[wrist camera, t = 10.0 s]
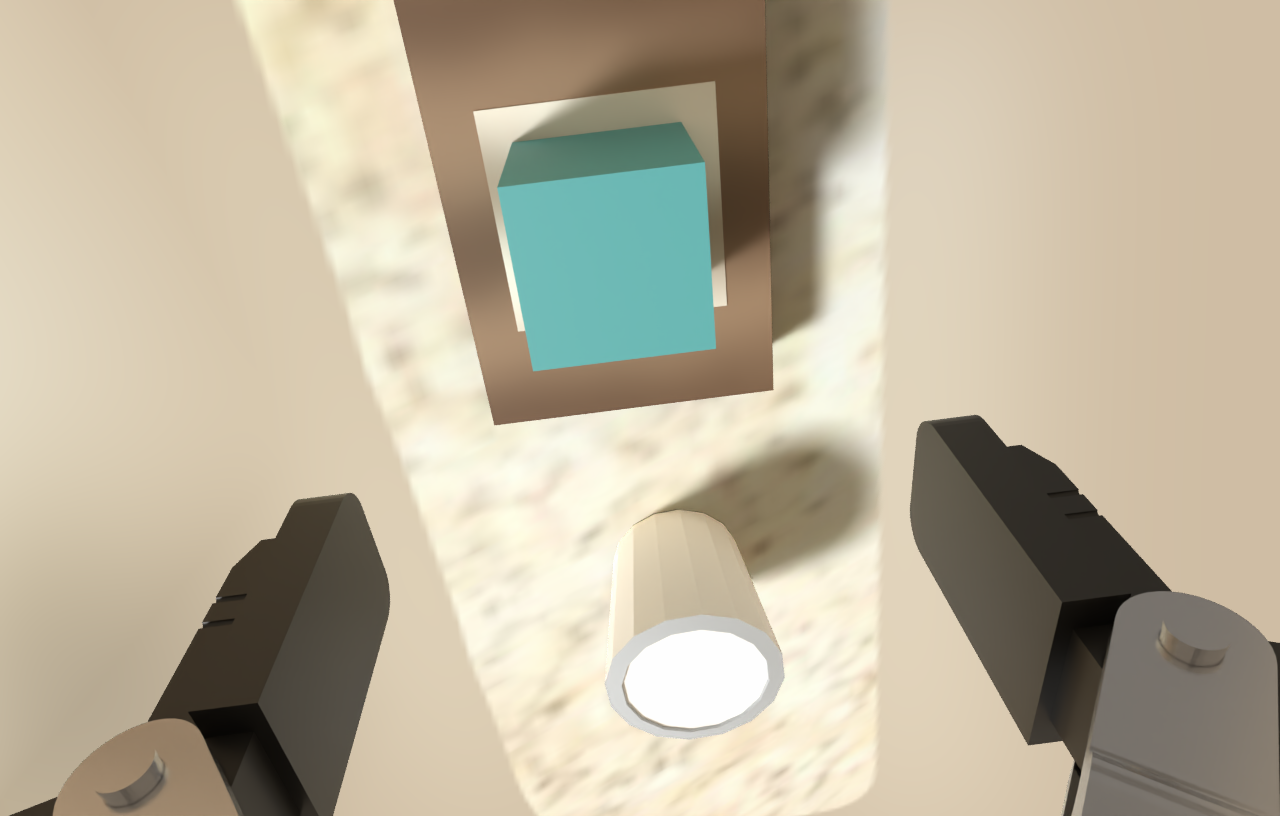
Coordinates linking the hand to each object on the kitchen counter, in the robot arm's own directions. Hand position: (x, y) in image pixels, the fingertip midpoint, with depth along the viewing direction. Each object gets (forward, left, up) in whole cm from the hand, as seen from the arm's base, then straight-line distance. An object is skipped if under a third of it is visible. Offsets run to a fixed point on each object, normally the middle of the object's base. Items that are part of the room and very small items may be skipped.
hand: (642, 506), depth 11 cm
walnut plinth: (0, 0, -18) cm, 18 cm away
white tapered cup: (+17, +1, -18) cm, 25 cm away
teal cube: (0, 0, -15) cm, 15 cm away
